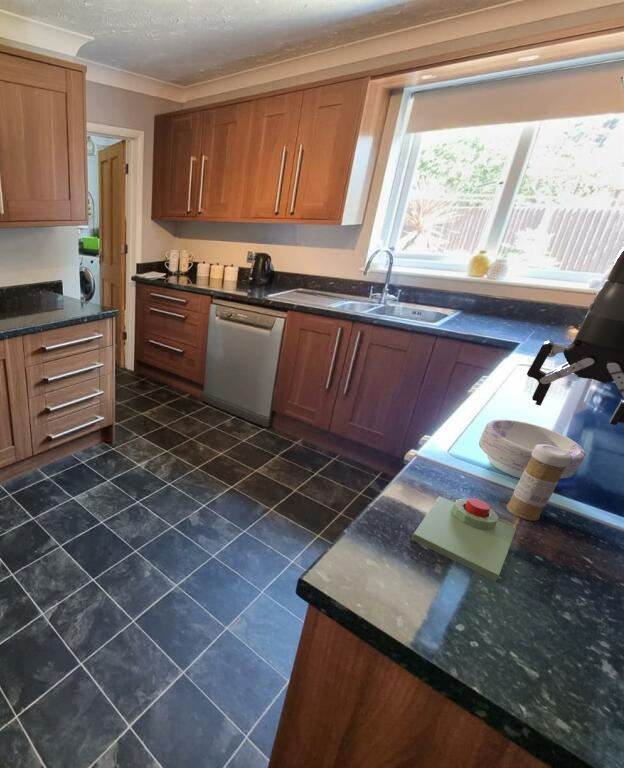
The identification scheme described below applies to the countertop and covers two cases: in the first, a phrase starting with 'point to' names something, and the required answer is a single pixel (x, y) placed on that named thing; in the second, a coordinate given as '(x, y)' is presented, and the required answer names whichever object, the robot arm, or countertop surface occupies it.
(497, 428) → the paper bowls
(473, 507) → the button
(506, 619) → the countertop surface
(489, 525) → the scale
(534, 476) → the sprinkles bottle
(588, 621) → the countertop surface
